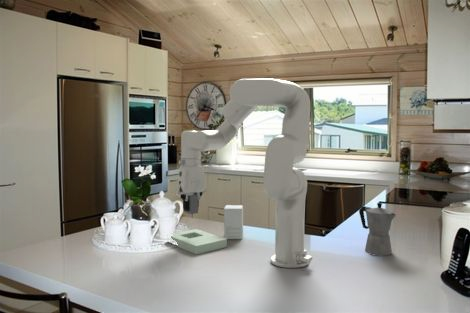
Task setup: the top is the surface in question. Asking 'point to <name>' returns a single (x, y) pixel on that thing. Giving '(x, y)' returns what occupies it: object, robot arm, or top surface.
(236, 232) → the supplement box
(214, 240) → the socket plate
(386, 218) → the coffeepot
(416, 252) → the top surface
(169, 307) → the top surface
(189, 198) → the plug
